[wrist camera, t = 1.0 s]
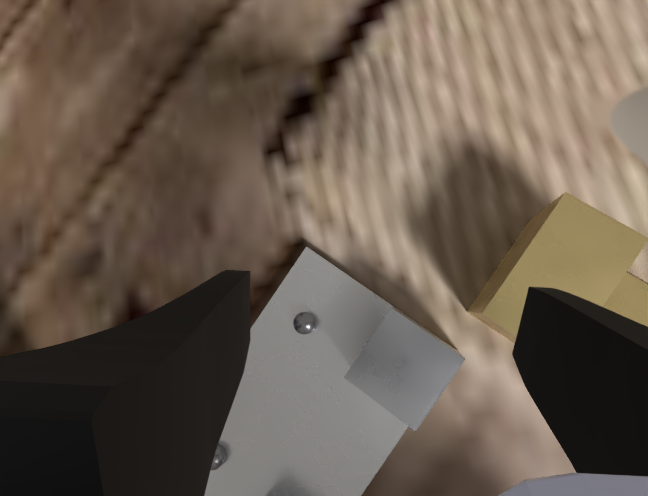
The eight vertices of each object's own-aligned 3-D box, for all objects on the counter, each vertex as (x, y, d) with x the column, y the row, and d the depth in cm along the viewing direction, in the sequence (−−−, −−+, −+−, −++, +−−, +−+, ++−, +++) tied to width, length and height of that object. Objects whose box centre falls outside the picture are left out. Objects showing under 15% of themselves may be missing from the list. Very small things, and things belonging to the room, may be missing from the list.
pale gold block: (707, 323, 22) (814, 330, 16) (637, 424, 22) (717, 468, 16) (529, 219, 24) (565, 192, 18) (466, 311, 24) (482, 313, 18)
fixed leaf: (458, 350, 24) (465, 358, 20) (290, 595, 24) (266, 648, 20) (309, 248, 26) (291, 238, 23) (158, 471, 26) (115, 498, 23)
